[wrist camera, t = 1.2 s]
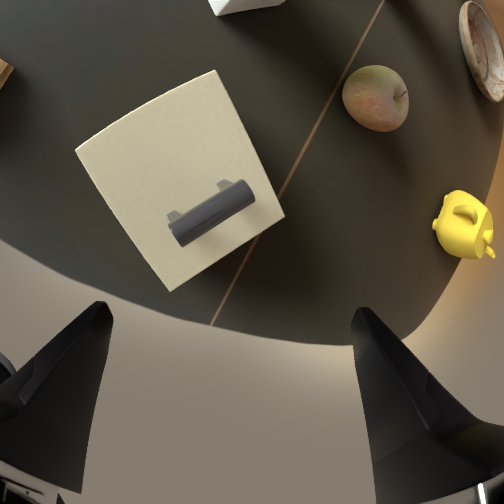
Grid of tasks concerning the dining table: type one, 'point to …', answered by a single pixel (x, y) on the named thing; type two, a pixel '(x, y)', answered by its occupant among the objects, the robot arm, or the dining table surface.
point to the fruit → (376, 98)
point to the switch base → (4, 71)
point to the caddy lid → (183, 179)
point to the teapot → (464, 226)
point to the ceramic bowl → (482, 50)
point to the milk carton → (240, 5)
